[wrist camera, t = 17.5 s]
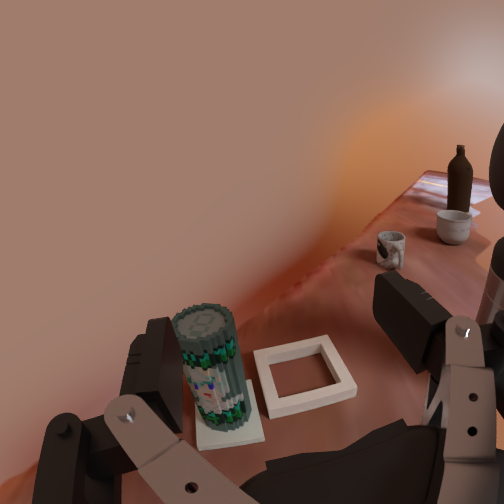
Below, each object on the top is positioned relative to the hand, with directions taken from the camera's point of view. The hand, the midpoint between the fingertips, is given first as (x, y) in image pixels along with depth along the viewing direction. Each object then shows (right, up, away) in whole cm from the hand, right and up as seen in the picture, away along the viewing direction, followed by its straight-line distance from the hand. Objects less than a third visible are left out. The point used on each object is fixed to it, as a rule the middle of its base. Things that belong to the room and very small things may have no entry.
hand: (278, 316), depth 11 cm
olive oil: (+77, +18, +84) cm, 115 cm away
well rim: (+6, -15, +28) cm, 33 cm away
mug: (+32, -1, +54) cm, 63 cm away
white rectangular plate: (-4, -19, +24) cm, 31 cm away
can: (-4, -18, +23) cm, 30 cm away
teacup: (+57, +6, +61) cm, 84 cm away
